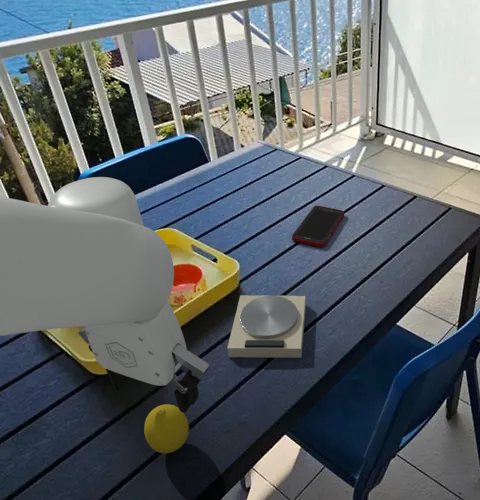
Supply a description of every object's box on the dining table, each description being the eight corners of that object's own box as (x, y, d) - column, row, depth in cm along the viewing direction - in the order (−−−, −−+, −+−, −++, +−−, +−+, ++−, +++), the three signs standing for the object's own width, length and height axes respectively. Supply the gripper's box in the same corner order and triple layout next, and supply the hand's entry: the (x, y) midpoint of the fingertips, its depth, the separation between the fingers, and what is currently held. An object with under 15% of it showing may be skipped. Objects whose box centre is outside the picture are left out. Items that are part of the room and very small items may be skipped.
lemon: (143, 446, 69) (130, 411, 64) (179, 421, 73) (168, 386, 68) (165, 472, 66) (152, 437, 62) (200, 445, 70) (191, 410, 65)
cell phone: (345, 214, 119) (345, 210, 118) (323, 248, 107) (323, 244, 107) (315, 208, 121) (315, 204, 120) (290, 241, 109) (290, 237, 109)
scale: (301, 357, 83) (300, 345, 81) (228, 357, 83) (226, 344, 81) (305, 304, 93) (305, 292, 92) (241, 304, 93) (239, 291, 91)
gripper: (29, 294, 52) (79, 395, 62) (171, 337, 48) (199, 438, 58) (82, 253, 58) (120, 351, 68) (213, 288, 53) (232, 388, 64)
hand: (156, 391), depth 63 cm, fingers open, 9 cm apart
